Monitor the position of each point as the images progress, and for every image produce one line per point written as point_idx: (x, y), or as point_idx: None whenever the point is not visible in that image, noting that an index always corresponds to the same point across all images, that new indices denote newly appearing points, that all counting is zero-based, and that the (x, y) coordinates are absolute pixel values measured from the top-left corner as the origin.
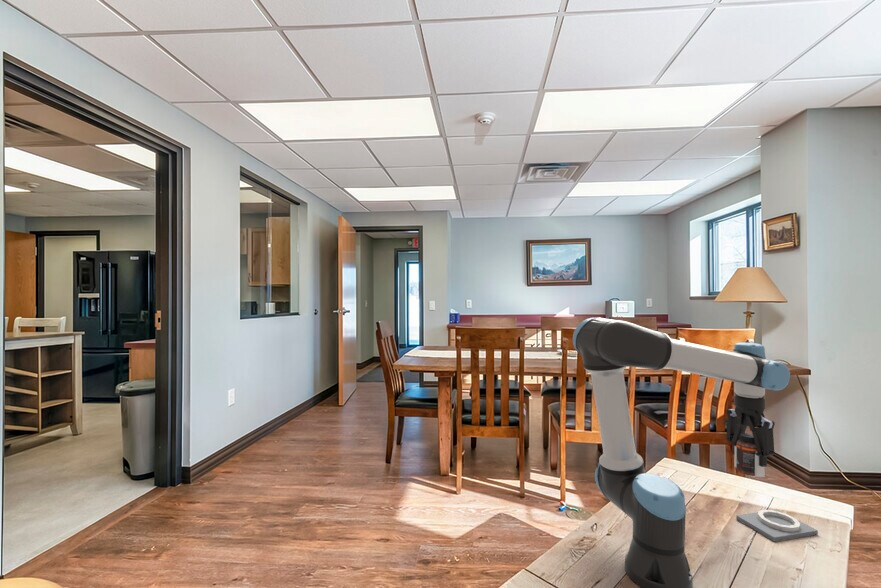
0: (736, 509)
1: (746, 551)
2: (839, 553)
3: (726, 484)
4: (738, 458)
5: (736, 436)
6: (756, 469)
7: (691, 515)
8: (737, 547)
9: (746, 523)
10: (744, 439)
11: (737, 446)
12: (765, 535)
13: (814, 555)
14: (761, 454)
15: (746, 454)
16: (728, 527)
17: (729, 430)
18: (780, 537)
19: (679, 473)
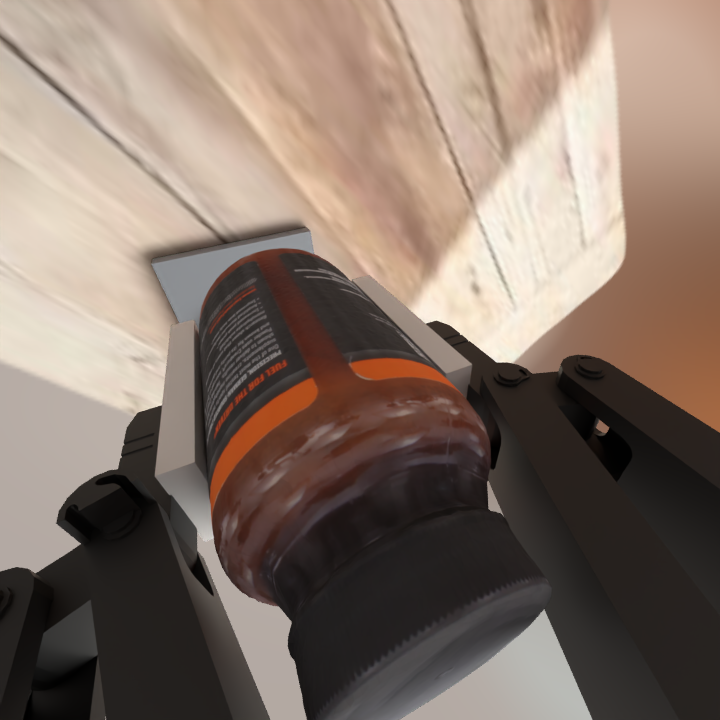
0: (364, 274)
1: (10, 46)
2: (117, 407)
3: (479, 336)
4: (319, 290)
5: (553, 473)
6: (174, 357)
7: (345, 26)
8: (44, 23)
9: (267, 237)
10: (382, 556)
11: (400, 362)
12: (189, 252)
13: (78, 335)
14: (84, 534)
15: (241, 373)
16: (246, 141)
17: (713, 469)
18: (164, 290)
19: (570, 242)
